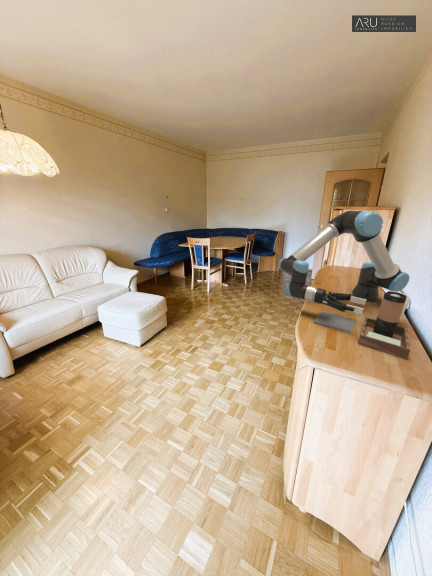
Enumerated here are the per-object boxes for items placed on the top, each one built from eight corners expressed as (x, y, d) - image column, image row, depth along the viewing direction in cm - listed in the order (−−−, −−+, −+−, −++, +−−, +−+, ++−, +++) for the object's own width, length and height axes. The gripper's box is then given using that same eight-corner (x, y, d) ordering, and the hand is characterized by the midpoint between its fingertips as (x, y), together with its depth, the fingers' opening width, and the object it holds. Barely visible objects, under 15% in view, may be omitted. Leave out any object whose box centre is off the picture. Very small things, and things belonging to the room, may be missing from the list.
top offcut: (368, 333, 99) (368, 331, 98) (399, 343, 92) (400, 340, 92) (365, 340, 93) (366, 338, 93) (399, 351, 87) (400, 348, 86)
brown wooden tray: (362, 325, 110) (365, 316, 109) (403, 336, 102) (407, 327, 100) (357, 344, 94) (360, 335, 92) (406, 360, 85) (410, 350, 83)
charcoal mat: (321, 312, 123) (321, 310, 122) (354, 321, 114) (355, 320, 114) (313, 322, 110) (313, 321, 110) (350, 334, 102) (350, 332, 101)
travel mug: (395, 341, 97) (411, 298, 91) (376, 339, 99) (390, 296, 92) (387, 332, 104) (400, 292, 98) (368, 330, 106) (381, 290, 99)
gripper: (320, 295, 125) (364, 306, 113) (307, 309, 106) (359, 324, 94) (322, 282, 123) (368, 292, 111) (310, 294, 104) (363, 307, 92)
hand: (364, 306), depth 103 cm, fingers open, 13 cm apart
